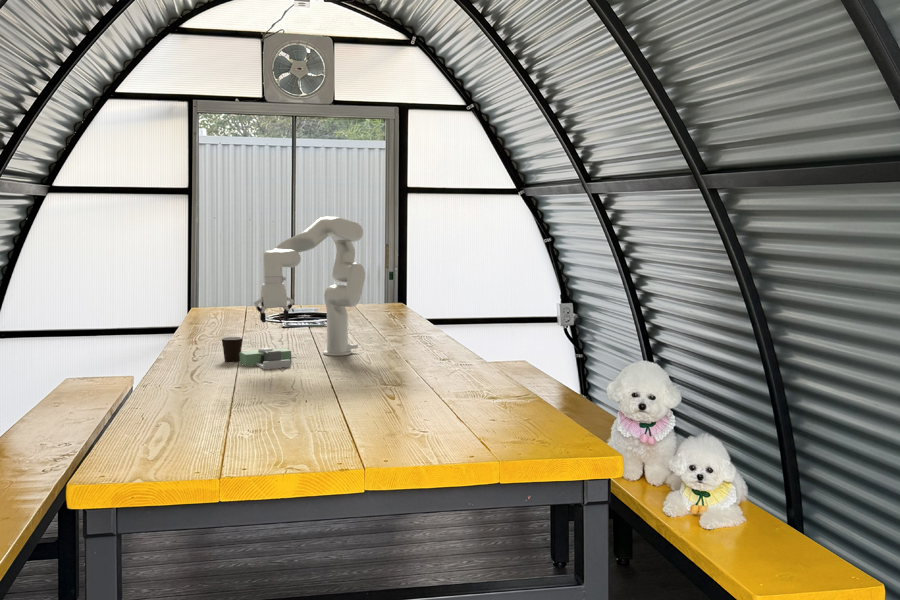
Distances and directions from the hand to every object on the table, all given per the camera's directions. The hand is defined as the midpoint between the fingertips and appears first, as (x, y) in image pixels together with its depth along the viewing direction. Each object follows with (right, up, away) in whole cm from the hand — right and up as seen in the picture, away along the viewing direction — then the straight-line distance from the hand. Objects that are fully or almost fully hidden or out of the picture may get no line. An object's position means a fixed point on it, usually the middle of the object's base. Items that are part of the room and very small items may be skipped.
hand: (274, 321), depth 337 cm
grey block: (-1, -19, +1) cm, 19 cm away
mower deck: (-3, -18, +3) cm, 19 cm away
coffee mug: (-20, -18, +12) cm, 30 cm away
